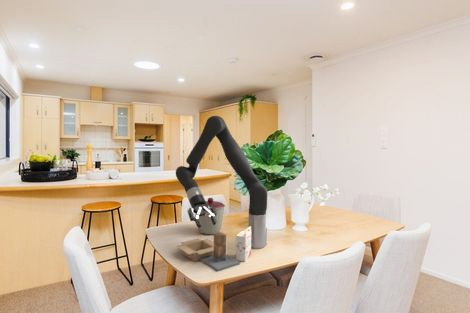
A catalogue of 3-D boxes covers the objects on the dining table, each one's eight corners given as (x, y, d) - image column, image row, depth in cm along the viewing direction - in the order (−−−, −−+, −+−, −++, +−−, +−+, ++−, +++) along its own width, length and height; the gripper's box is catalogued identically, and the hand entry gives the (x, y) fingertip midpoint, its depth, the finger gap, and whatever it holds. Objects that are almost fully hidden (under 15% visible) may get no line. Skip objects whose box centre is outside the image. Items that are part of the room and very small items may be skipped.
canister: (188, 233, 163) (189, 198, 162) (205, 225, 179) (206, 194, 178) (214, 239, 155) (215, 202, 154) (230, 230, 171) (230, 197, 170)
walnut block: (220, 257, 127) (221, 231, 127) (225, 260, 124) (226, 234, 124) (213, 259, 125) (213, 233, 124) (218, 262, 122) (218, 235, 121)
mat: (221, 254, 134) (221, 252, 134) (239, 264, 123) (239, 262, 123) (200, 260, 126) (200, 257, 126) (217, 271, 115) (217, 269, 115)
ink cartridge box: (241, 253, 135) (242, 224, 134) (251, 255, 133) (251, 225, 132) (235, 260, 127) (235, 229, 126) (245, 262, 125) (246, 230, 124)
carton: (204, 244, 146) (204, 237, 146) (224, 255, 132) (224, 247, 132) (173, 252, 135) (173, 244, 134) (191, 265, 120) (191, 256, 120)
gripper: (186, 195, 134) (198, 223, 125) (210, 192, 143) (223, 219, 134) (180, 203, 138) (192, 232, 130) (204, 200, 147) (216, 227, 139)
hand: (207, 225), depth 132 cm, fingers open, 8 cm apart
